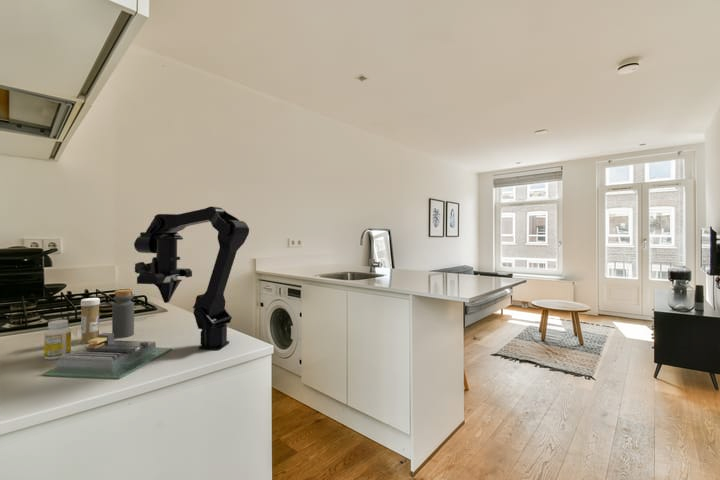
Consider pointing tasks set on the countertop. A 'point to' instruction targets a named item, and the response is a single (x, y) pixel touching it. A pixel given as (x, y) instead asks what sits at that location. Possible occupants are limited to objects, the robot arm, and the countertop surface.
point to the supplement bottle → (57, 339)
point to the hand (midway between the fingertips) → (166, 302)
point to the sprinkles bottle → (89, 319)
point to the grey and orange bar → (111, 347)
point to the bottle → (123, 314)
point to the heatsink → (107, 361)
